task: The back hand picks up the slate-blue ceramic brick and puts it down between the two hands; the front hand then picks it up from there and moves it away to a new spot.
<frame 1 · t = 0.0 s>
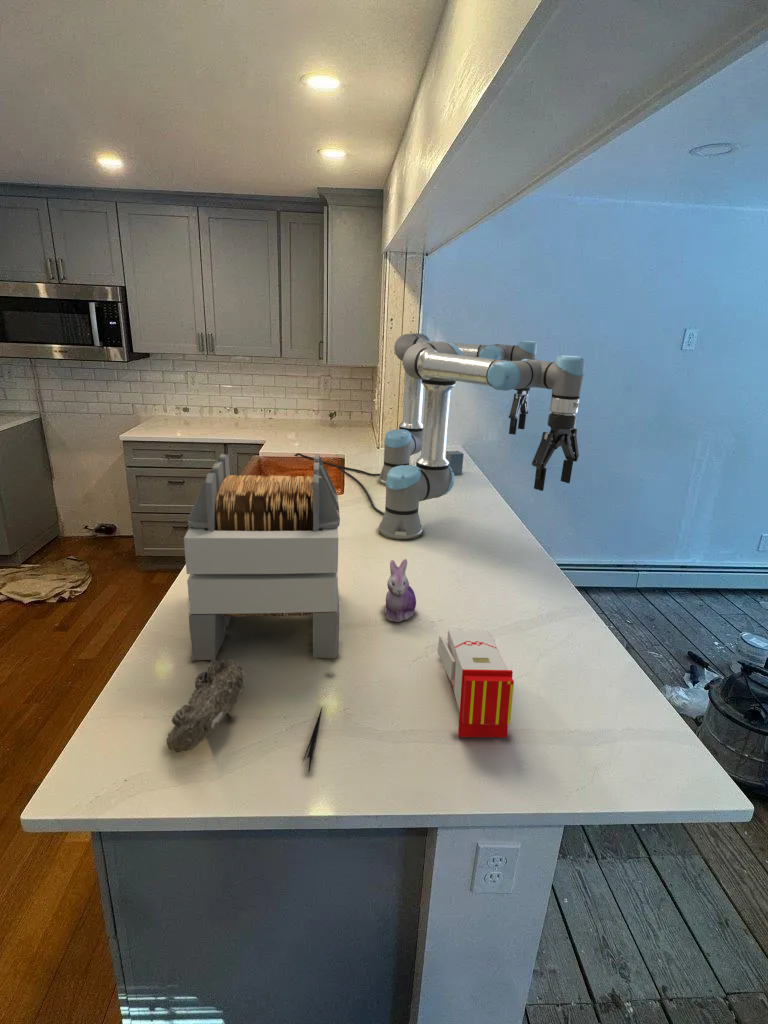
front hand: (552, 485, 166), 28 cm above the counter, tool pointing down, fingers open, 13 cm apart
back hand: (516, 431, 239), 28 cm above the counter, tool pointing down, fingers open, 13 cm apart
fossil: (212, 717, 108), on the counter
feather: (319, 719, 109), on the counter
brick: (453, 473, 278), on the counter
toy: (469, 691, 119), on the counter
figurine: (399, 614, 147), on the counter
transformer: (271, 621, 141), on the counter
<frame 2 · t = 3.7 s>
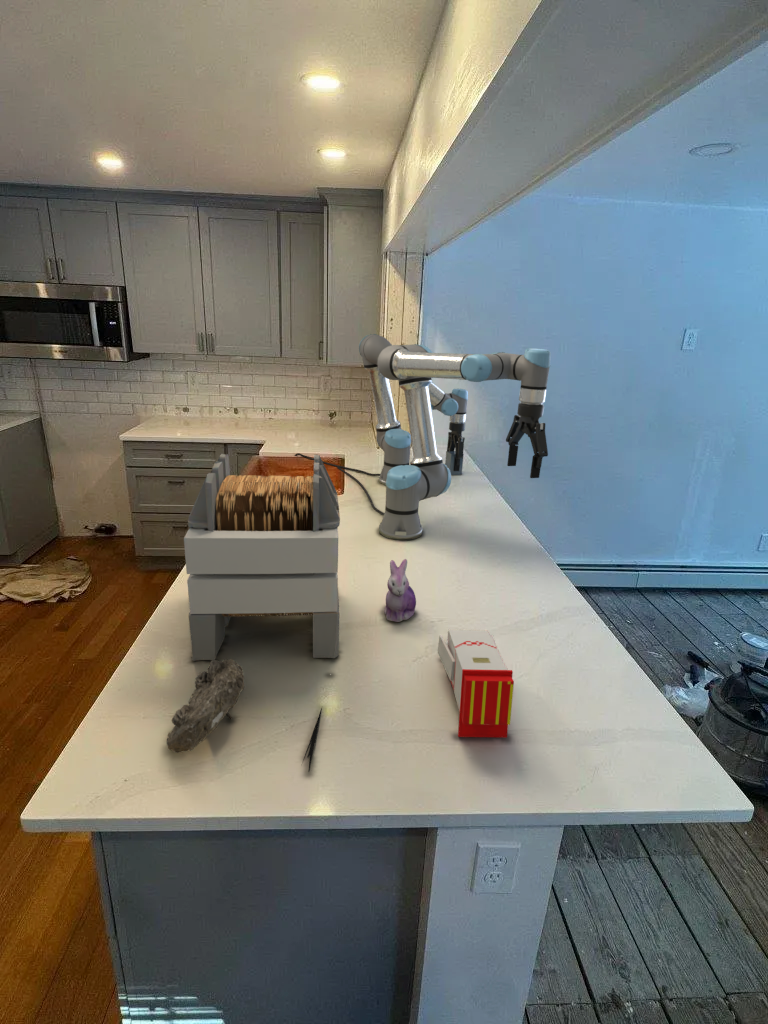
front hand: (522, 471, 176), 29 cm above the counter, tool pointing down, fingers open, 13 cm apart
back hand: (453, 469, 277), 2 cm above the counter, tool pointing down, fingers closed on brick, 6 cm apart
brick: (453, 473, 278), on the counter, touching back hand
everything else where it was.
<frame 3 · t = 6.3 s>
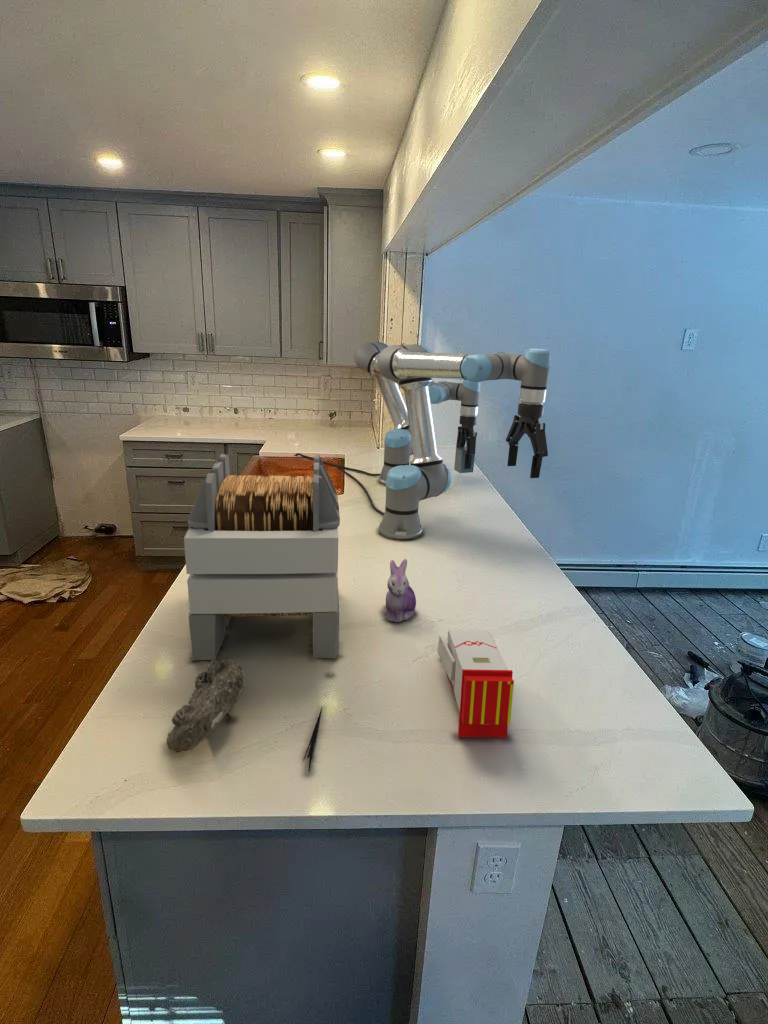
front hand: (522, 471, 176), 29 cm above the counter, tool pointing down, fingers open, 13 cm apart
back hand: (463, 466, 255), 9 cm above the counter, tool pointing down, fingers closed on brick, 6 cm apart
brick: (463, 471, 256), point 7 cm above the counter, touching back hand
everything else where it was.
when the back hand's fingers open (3 cm above the counter, at t = 8.8 s): brick drops 1 cm, on the counter.
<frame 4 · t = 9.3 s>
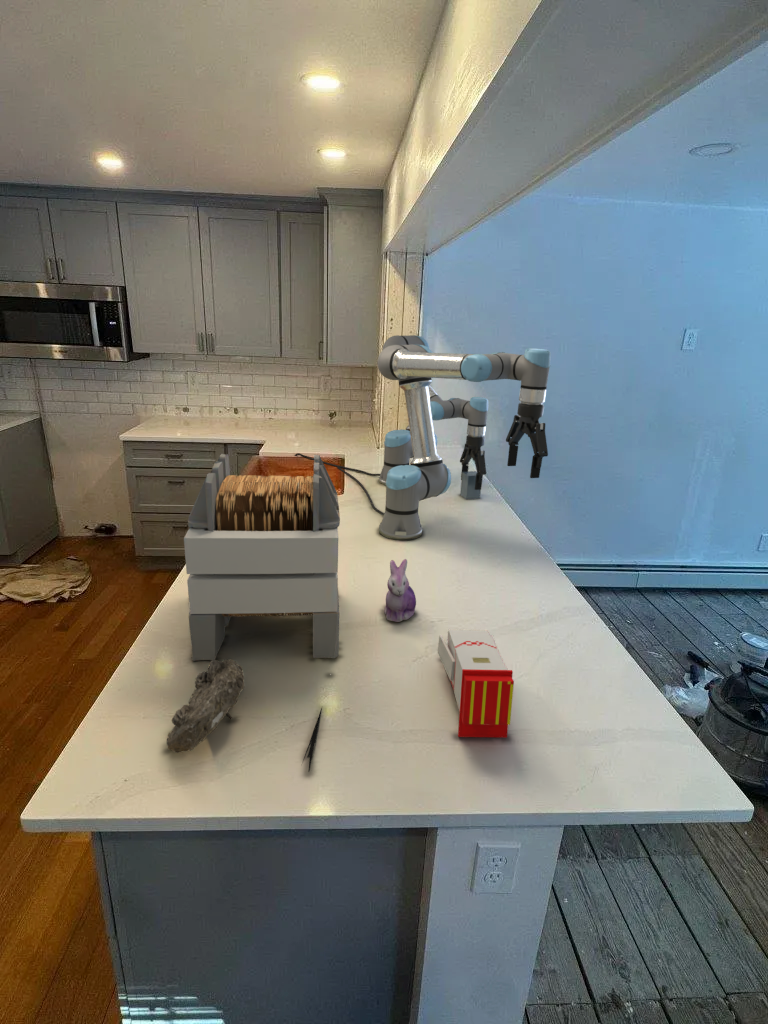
front hand: (522, 471, 176), 29 cm above the counter, tool pointing down, fingers open, 13 cm apart
back hand: (470, 484, 242), 5 cm above the counter, tool pointing down, fingers open, 13 cm apart
brick: (469, 496, 244), on the counter
everything else where it was.
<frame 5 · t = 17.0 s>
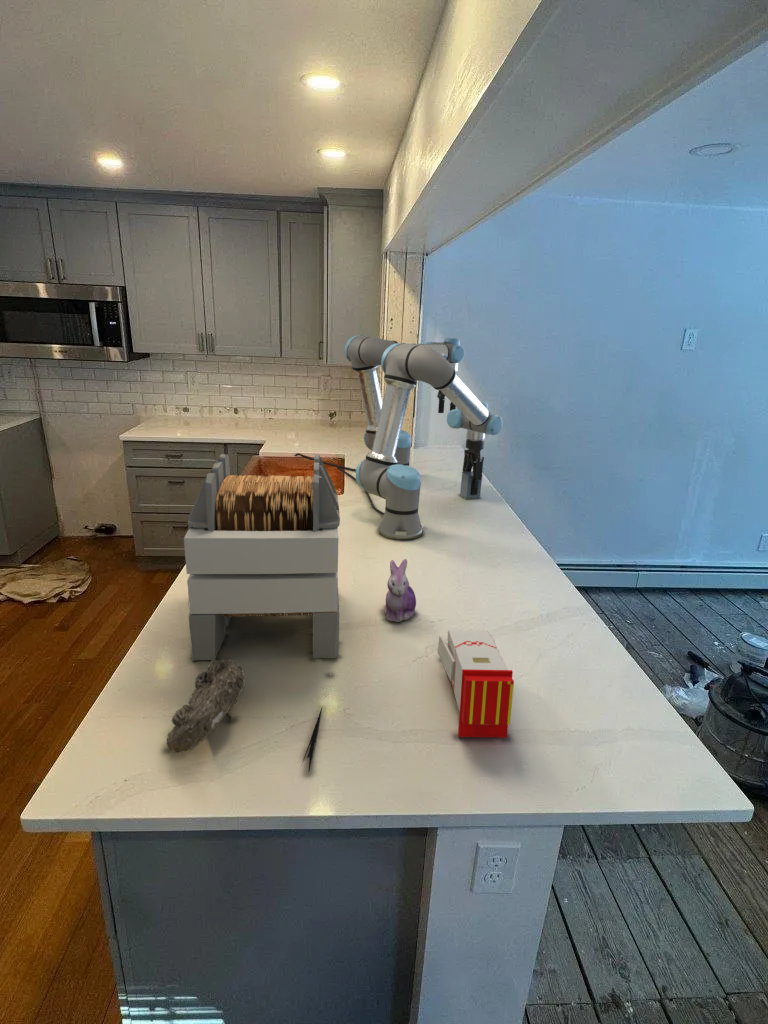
front hand: (470, 492, 243), 2 cm above the counter, tool pointing down, fingers closed on brick, 6 cm apart
back hand: (446, 415, 280), 26 cm above the counter, tool pointing down, fingers open, 13 cm apart
brick: (469, 496, 244), on the counter, touching front hand
everything else where it was.
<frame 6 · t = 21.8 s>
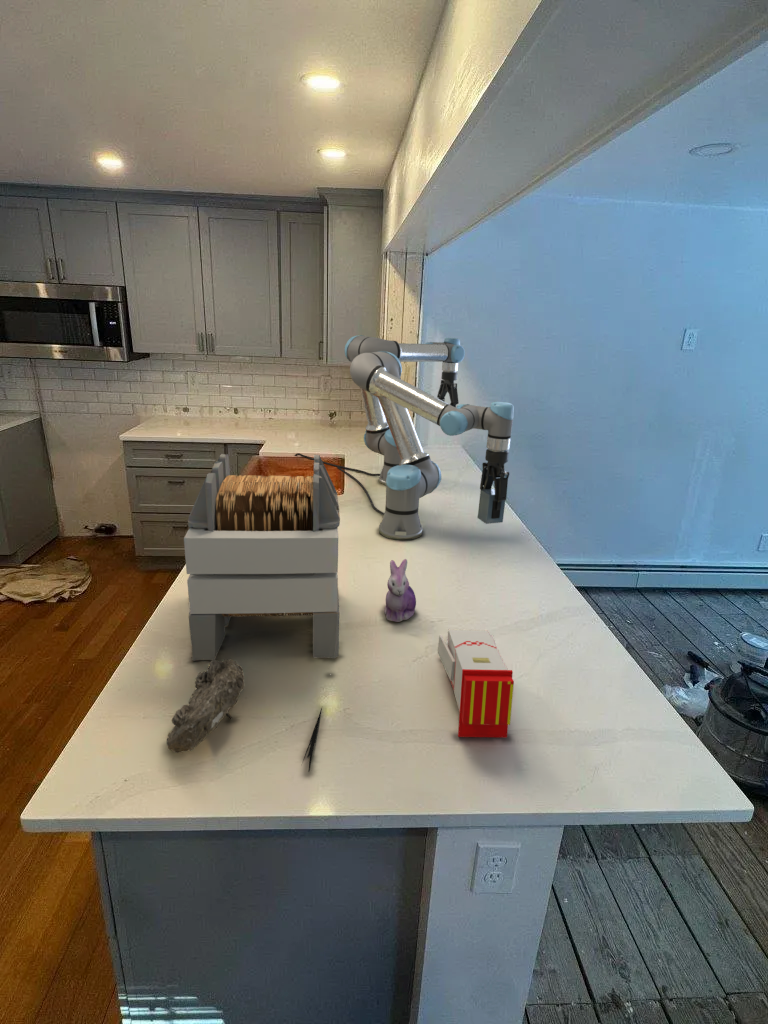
front hand: (490, 514, 196), 9 cm above the counter, tool pointing down, fingers closed on brick, 6 cm apart
back hand: (446, 415, 280), 26 cm above the counter, tool pointing down, fingers open, 13 cm apart
brick: (490, 520, 197), point 7 cm above the counter, touching front hand
everything else where it was.
when the front hand's fingers open (3 cm above the counter, at t = 26.4 s): brick drops 1 cm, on the counter.
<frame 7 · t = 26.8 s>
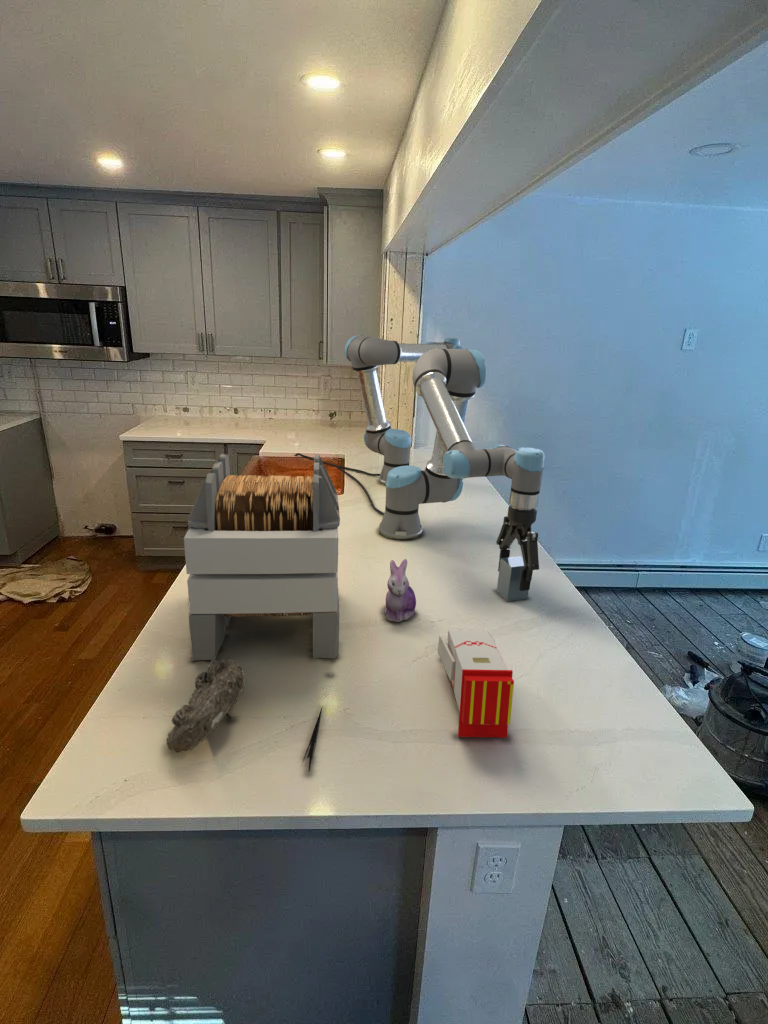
front hand: (513, 580, 159), 5 cm above the counter, tool pointing down, fingers open, 11 cm apart
back hand: (446, 415, 280), 26 cm above the counter, tool pointing down, fingers open, 13 cm apart
brick: (511, 594, 160), on the counter
everything else where it was.
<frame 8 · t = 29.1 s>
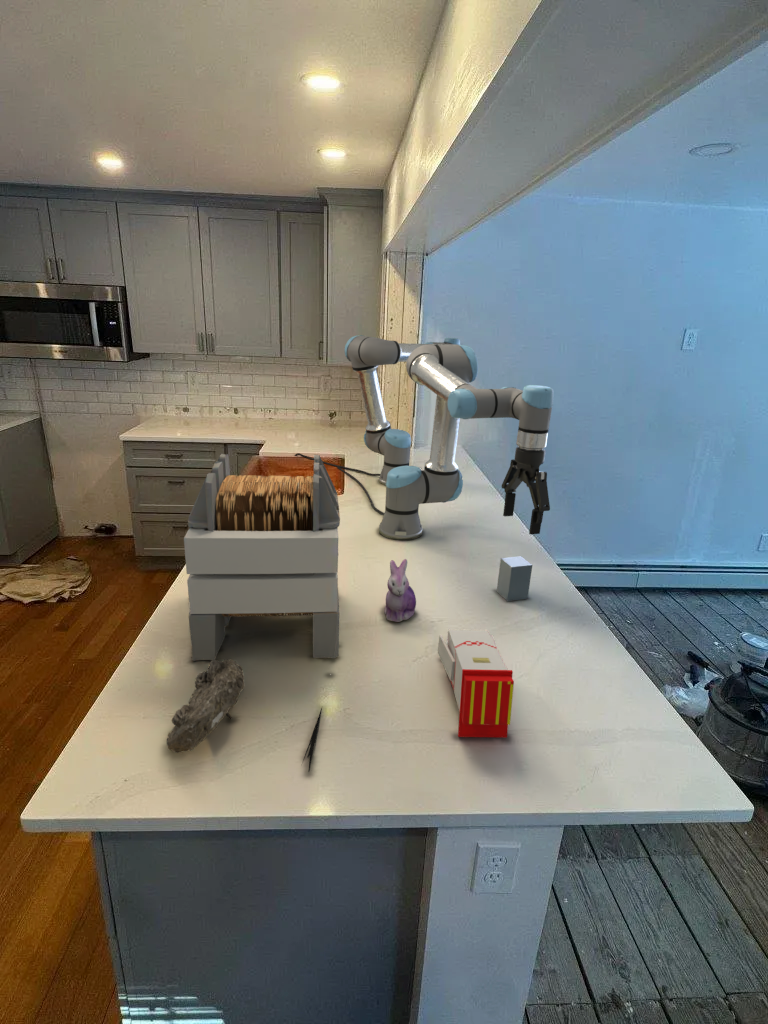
front hand: (520, 524, 153), 21 cm above the counter, tool pointing down, fingers open, 13 cm apart
back hand: (446, 415, 280), 26 cm above the counter, tool pointing down, fingers open, 13 cm apart
nothing on the counter moved.
at the end: brick inside the target area (0.2 cm from its centre), on the counter; brick tilted 0°; the two hands never held the brick at the same time; the front hand is holding nothing; the back hand is holding nothing; brick at rest at the end (0.0 cm/s) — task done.
